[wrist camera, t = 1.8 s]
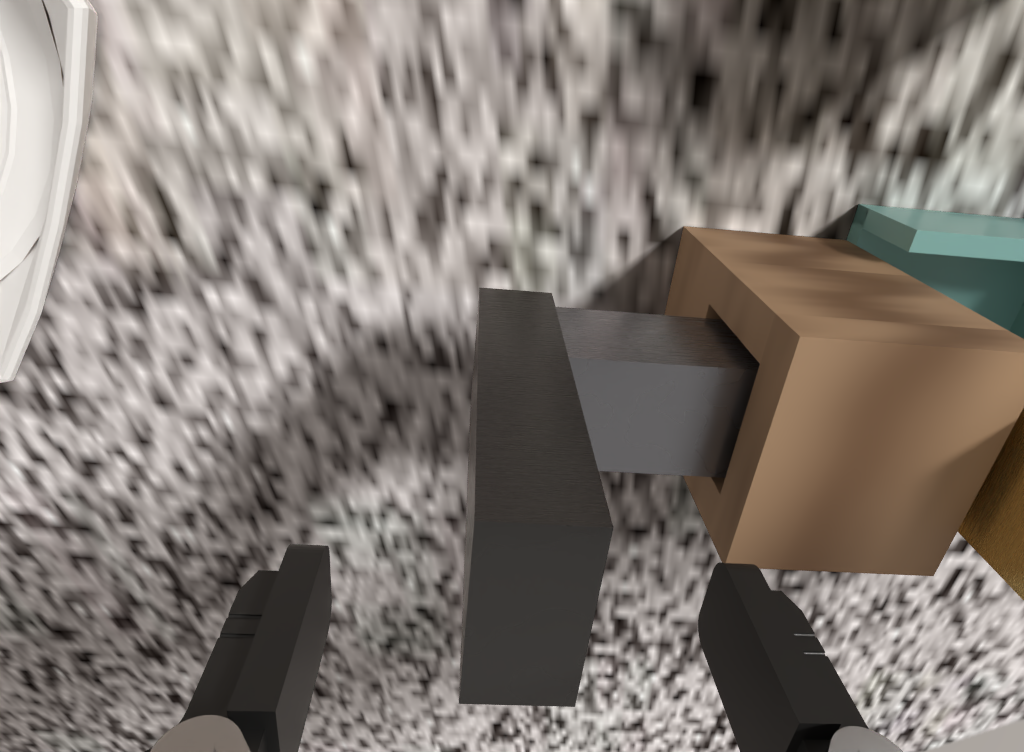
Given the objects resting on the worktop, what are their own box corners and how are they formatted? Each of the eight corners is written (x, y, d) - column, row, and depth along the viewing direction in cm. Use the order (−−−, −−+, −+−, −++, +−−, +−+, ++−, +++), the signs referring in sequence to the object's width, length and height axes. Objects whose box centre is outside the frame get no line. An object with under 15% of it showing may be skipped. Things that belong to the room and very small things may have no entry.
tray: (1063, 222, 27) (1151, 250, 23) (955, 441, 32) (1014, 492, 28) (858, 204, 26) (917, 230, 23) (781, 431, 31) (819, 481, 28)
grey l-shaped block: (1056, 331, 24) (1524, 570, 13) (996, 444, 26) (1351, 726, 15) (479, 287, 22) (474, 521, 11) (470, 412, 24) (458, 703, 14)
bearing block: (846, 240, 27) (1051, 354, 17) (790, 404, 31) (933, 575, 21) (683, 226, 26) (800, 336, 17) (646, 395, 30) (724, 567, 20)
